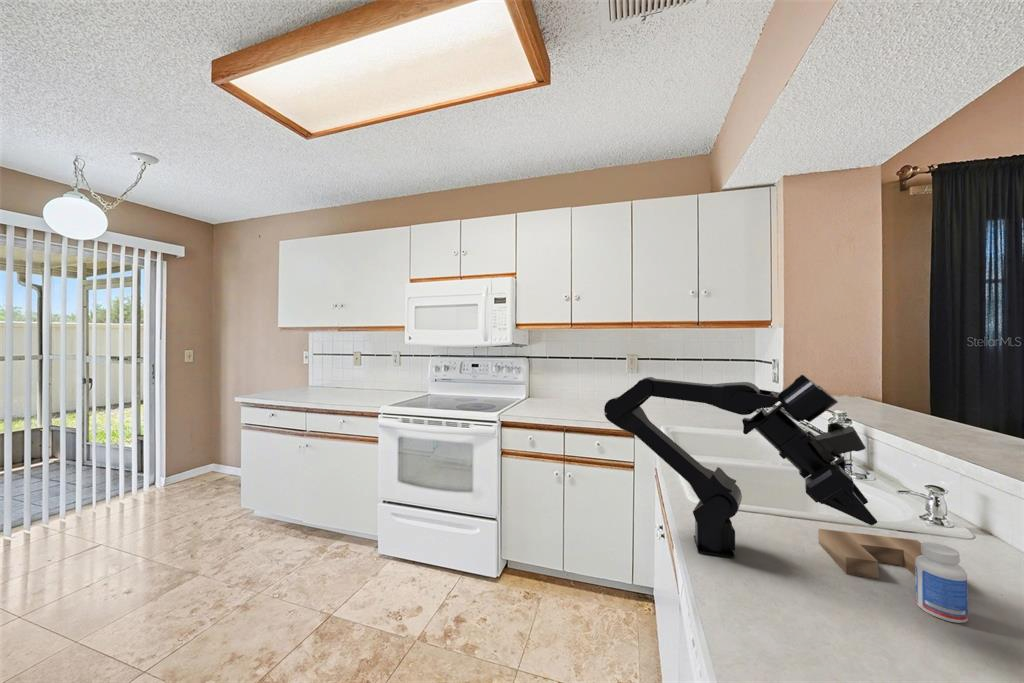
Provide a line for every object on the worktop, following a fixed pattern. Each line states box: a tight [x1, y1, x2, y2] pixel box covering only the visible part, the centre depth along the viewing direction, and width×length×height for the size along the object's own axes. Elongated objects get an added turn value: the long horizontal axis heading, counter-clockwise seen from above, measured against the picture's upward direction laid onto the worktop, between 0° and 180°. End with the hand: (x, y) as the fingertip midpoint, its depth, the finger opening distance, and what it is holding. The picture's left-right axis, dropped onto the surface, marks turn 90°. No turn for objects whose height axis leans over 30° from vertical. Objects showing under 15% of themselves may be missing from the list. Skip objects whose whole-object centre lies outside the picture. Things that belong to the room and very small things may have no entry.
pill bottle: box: [914, 541, 969, 624], centre depth 59 cm, size 6×5×10 cm
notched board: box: [817, 528, 923, 579], centre depth 72 cm, size 16×11×3 cm
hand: (869, 513), depth 64 cm, fingers open, 9 cm apart
